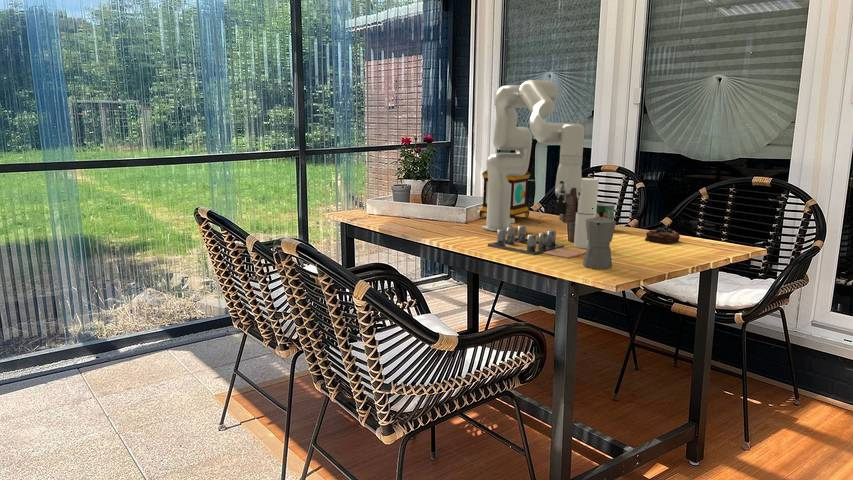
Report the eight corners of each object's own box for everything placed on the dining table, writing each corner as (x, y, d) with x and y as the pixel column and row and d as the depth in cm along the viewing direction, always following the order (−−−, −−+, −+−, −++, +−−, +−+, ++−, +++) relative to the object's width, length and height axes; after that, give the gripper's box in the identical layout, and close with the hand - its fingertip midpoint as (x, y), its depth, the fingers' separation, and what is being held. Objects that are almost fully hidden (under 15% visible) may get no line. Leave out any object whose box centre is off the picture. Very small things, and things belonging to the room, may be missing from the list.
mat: (560, 249, 237) (561, 247, 237) (585, 253, 230) (585, 252, 230) (542, 253, 228) (542, 252, 228) (568, 258, 221) (568, 257, 221)
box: (558, 220, 230) (560, 185, 227) (571, 220, 230) (573, 186, 228) (562, 223, 224) (564, 187, 221) (575, 223, 224) (577, 188, 222)
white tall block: (569, 245, 245) (574, 178, 240) (585, 244, 247) (590, 177, 243) (581, 249, 238) (586, 180, 233) (597, 247, 241) (602, 179, 236)
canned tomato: (614, 229, 282) (616, 204, 280) (610, 232, 275) (612, 206, 273) (595, 227, 286) (597, 202, 284) (591, 230, 279) (593, 204, 277)
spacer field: (518, 239, 253) (519, 223, 252) (564, 247, 240) (565, 231, 239) (487, 246, 239) (488, 229, 238) (534, 254, 226) (535, 237, 225)
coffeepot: (610, 272, 203) (614, 215, 200) (579, 269, 207) (583, 212, 203) (615, 262, 217) (619, 208, 214) (586, 259, 221) (590, 206, 217)
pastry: (641, 241, 258) (642, 226, 256) (655, 237, 266) (656, 223, 265) (668, 245, 250) (670, 230, 249) (682, 242, 258) (683, 227, 257)
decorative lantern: (514, 223, 291) (517, 155, 286) (475, 218, 302) (477, 152, 296) (532, 217, 308) (536, 153, 302) (495, 213, 318) (498, 151, 313)
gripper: (574, 159, 232) (570, 209, 235) (547, 161, 219) (544, 213, 222) (593, 160, 227) (589, 211, 230) (567, 162, 214) (563, 216, 217)
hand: (567, 212), depth 226 cm, fingers closed on box, 7 cm apart
